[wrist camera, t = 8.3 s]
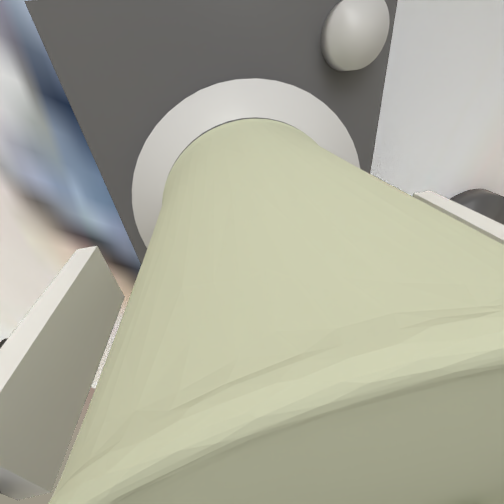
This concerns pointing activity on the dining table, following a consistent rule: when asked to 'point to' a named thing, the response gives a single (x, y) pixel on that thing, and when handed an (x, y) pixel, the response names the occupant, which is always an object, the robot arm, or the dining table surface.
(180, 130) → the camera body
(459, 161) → the dining table surface
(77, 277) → the robot arm
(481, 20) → the dining table surface
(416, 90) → the dining table surface
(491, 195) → the lens cap
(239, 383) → the can
